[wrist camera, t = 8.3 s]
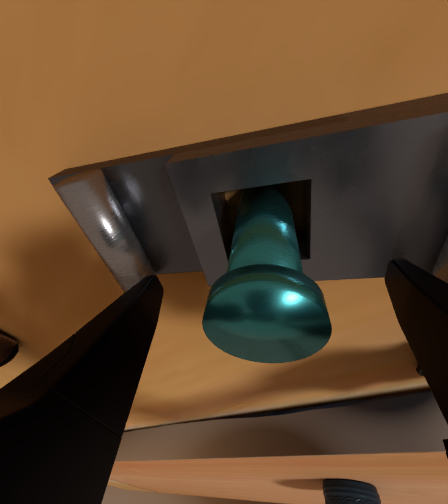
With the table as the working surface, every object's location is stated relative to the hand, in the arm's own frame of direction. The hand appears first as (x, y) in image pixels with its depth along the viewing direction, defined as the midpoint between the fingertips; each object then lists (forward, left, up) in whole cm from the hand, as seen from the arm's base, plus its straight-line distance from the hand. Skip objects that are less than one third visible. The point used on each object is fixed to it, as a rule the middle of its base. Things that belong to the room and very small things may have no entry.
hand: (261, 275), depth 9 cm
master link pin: (0, 0, -6) cm, 7 cm away
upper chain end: (0, 0, -6) cm, 7 cm away
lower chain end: (0, 0, -6) cm, 7 cm away
